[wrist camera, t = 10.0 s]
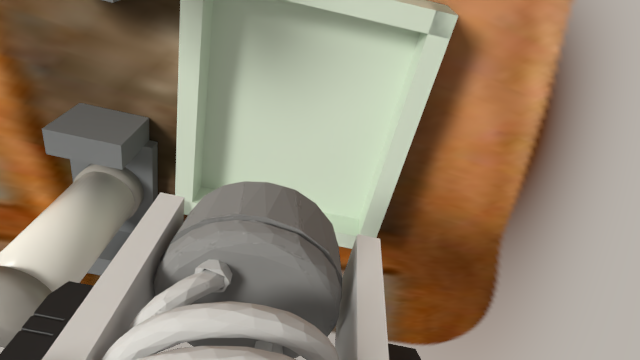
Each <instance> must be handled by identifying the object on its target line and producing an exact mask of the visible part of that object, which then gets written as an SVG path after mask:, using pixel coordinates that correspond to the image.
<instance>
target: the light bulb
mask: <svg viewBox="0 0 640 360" xmlns="http://www.w3.org/2000/svg"><path fill="white" fill-rule="evenodd" d="M153 284H154V298H153V299H152V300H151V301H150V302H149V303H148V304H147V305H146V306H145V307H144V308H143V309H142V310H141V311H140V312H139V313H138V315H137V316H136V317H135V318H134V320H133V321H132V322H131V323H130V326H129V329H128V332H127V333H125V334H124V335H123V336H122V337H120V338H119V339H118V340H117V341H116V342H115V343H114V344H113V345H112V346H111V347H110V348H109V349H108V351H107V352H106V354H105V355H104V357H103V358H102V360H296V359H294V358H296V357H298V356H302V357H303V358H305V359H306V360H339V357H338V354H337V351H336V349H335V347H334V346H333V345H332V343H331V342H330V340H329V339H328V335H329V334H330V332H331V331H332V330H333V328H334V327H335V326H336V323H337V320H338V317H339V313H340V302H341V299H342V273H341V264H340V256H339V247H338V243H337V239H336V235H335V232H334V228H333V225H332V223H331V222H330V220H329V219H328V218H327V217H326V216H325V214H324V213H323V212H322V211H321V209H320V208H319V207H318V206H317V204H316V203H314V202H313V201H312V200H310V199H309V198H307V197H306V196H304V195H303V194H301V193H300V192H298V191H297V190H294V189H291V188H288V187H285V186H281V185H277V184H273V183H269V182H249V181H243V182H238V183H233V184H228V185H223V186H221V187H220V188H218V189H216V190H214V191H212V192H210V193H208V194H207V195H205V196H204V197H203V198H202V199H201V200H200V201H199V203H198V204H197V205H196V206H195V207H194V208H193V209H192V210H191V212H190V213H189V215H188V216H187V218H186V220H185V221H184V223H183V224H182V226H181V227H180V229H179V230H178V232H177V233H176V235H175V236H174V238H173V239H172V241H171V242H170V244H169V245H168V247H167V248H166V250H165V251H164V253H163V254H162V256H161V258H160V264H159V266H158V269H157V272H156V275H155V279H154V282H153ZM184 342H188V343H189V344H191V345H192V346H194V347H185V348H177V349H173V350H170V351H166V352H162V353H158V352H160V351H163V350H165V349H168V348H170V347H173V346H175V345H178V344H180V343H184ZM157 353H158V354H157Z"/></svg>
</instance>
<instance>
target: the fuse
mask: <svg viewBox="0 0 640 360" xmlns="http://www.w3.org/2000/svg"><path fill="white" fill-rule="evenodd" d="M143 199H144V190H143V187H142V184H141V182H140V181H139V179H138V178H137V177H136V176H135V174H133V173H132V172H131V171H130V170H129V169H127V168H126V167H125V168H124V169H123V170H120V169H115V168H111V167H106V166H101V165H96V164H92V163H91V164H89V165H88V166H87V167H86V168H85V169H84V170H82V171H81V172H80V173H79V174H78V175H77V176H76V178H75V179H74V181H73V184H72V185H71V186H70V187H68V188H67V189H66V190H65V191H64V192H63V193H62V194H61V195H60V196H59V197H58V198H57V199H56V200H55V201H54V202H53V203H52V204H51V205H50V206H49V207H48V208H46V209H45V210H44V211H43V212H42V213H41V214H40V215H39V216H38V217H37V218H36V219H35V220H34V221H33V222H32V223H31V224H30V225H29V226H28V227H27V228H25V229H24V230H23V231H22V232H21V233H20V234H19V235H18V236H17V237H16V238H15V239H14V240H13V241H12V242H11V243H10V244H9V245H8V246H7V247H6V248H5V249H3V250H2V251H1V252H0V347H4V348H5V347H6V346H7V345H8V344H9V342H10V341H11V340H12V339H13V338H14V336H15V335H16V334H17V333H18V331H21V329H22V326H23V325H24V324H25V323H26V322H27V320H28V319H29V318H30V317H31V316H33V315H34V312H35V310H36V309H37V308H38V307H39V306H40V304H41V303H42V302H43V301H44V299H45V298H46V297H47V296H48V295H49V294H50V293H52V292H53V291H55V290H56V289H58V288H59V287H61V286H62V285H64V284H65V283H67V282H68V281H71V282H76V283H80V281H81V280H82V279H83V277H84V276H85V275H86V273H87V272H88V271H89V269H90V268H91V267H92V265H93V264H94V263H95V261H96V260H97V259H98V257H99V256H100V255H101V253H102V252H103V251H104V249H105V248H106V247H107V245H108V244H109V243H110V241H111V240H112V239H113V237H114V236H115V235H116V233H117V232H118V231H119V229H120V228H121V226H122V225H123V224H124V222H125V221H126V220H127V219H129V218H131V217H132V216H133V215H134V213H135V212H136V211H137V209H138V208H139V206H140V205H141V204H142V202H143Z"/></svg>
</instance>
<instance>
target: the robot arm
mask: <svg viewBox="0 0 640 360" xmlns="http://www.w3.org/2000/svg"><path fill="white" fill-rule="evenodd" d="M183 221H184V197H180V196H176V195H171V194H166V193H161V192H160V194H159V195H158V196H157V198H156V199H155V201H154V202H153V203H152V205H151V206H150V208H149V209H148V211H147V212H146V213H145V215H144V216H143V218H142V219H141V220H140V222H139V223H138V225H137V226H136V227H135V229H134V230H133V232H132V233H131V235H130V236H129V237H128V239H127V240H126V242H125V243H124V244H123V246H122V247H121V249H120V250H119V251H118V253H117V254H116V256H115V257H114V258H113V260H112V261H111V263H110V264H109V266H108V267H107V268H106V270H105V271H104V273H103V274H102V275H101V277H100V278H99V280H98V281H97V282H96V284H95V285H94V286H91V285H86V284H81V283H76V282H71V281H68V282H67V283H65V284H64V285H62V286H61V287H59V288H58V289H56V290H55V291H53V292H52V293H50V294H49V295H48V296H47V297H46V298H45V299H44V301H43V302H42V303H41V304H40V306H39V307H38V308H37V309H36V310H35V312H34V315H33V316H31V317H30V318H29V319H28V320H27V322H26V323H25V324H24V325H23V326H22V329H21V331H18V333H17V334H16V335H15V336H14V338H13V339H12V340H11V341H10V342H9V344H8V345H7V346H6V347H5V349H4V350H3V351H2V353H1V354H0V360H102V358H103V357H104V355H105V354H106V352H107V351H108V349H109V348H110V347H111V346H112V345H113V344H114V343H115V342H116V341H117V340H118V339H119V338H120V337H122V336H123V335H124V334H125V333H127V332H128V329H129V326H130V323H131V322H132V321H133V320H134V318H135V317H136V316H137V315H138V313H139V312H140V311H141V310H142V309H143V308H144V307H145V306H146V305H147V304H148V303H149V302H150V301H151V300H152V299H153V298H154V284H153V282H154V279H155V275H156V272H157V269H158V266H159V264H160V258H161V256H162V254H163V253H164V251H165V250H166V248H167V247H168V245H169V244H170V242H171V241H172V239H173V238H174V236H175V235H176V233H177V232H178V230H179V229H180V227H181V226H182V224H183ZM335 349H336V351H337V354H338V357H339V360H421V359H420V357H419V355H418V353H417V351H416V349H413V348H407V347H403V346H398V345H393V344H388V338H387V325H386V311H385V297H384V284H383V270H382V257H381V243H380V239H379V238H374V237H369V236H365V235H360V234H357V236H356V239H355V242H354V245H353V248H352V251H351V254H350V257H349V260H348V263H347V266H346V269H345V272H344V275H343V278H342V299H341V302H340V313H339V317H338V320H337V323H336V339H335Z"/></svg>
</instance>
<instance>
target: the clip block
mask: <svg viewBox="0 0 640 360" xmlns="http://www.w3.org/2000/svg"><path fill="white" fill-rule="evenodd" d="M103 1H108V2H112V3H114V2H117V1H119V0H103ZM42 132H43V138H44V144H45V150H46V154H49V155H53V156H58V157H63V158H68V159H70V162H71V170H72V177H73V181H74V179H75V178H76V176H77V175H78V174H79V173H80V172H81V171H82V170H84V169H85V168H86V167H87V166H88V165H89V164H91V163H92V164H96V165H101V166H106V167H111V168H115V169H120V170H123V169H124V168H125V167H126V168H127V169H129V170H130V171H131V172H132V173H133V174H135V176H136V177H137V178H138V179H139V181H140V182H141V184H142V187H143V190H144V199H143V202H142V204H141V205H140V206H139V208H138V209H137V211H136V212H135V213H134V215H133V216H132V217H131V218H129V219H127V220H126V221H125V222H124V224H123V225H122V226H121V228H120V229H119V231H118V232H117V233H116V235H115V236H114V237H113V239H112V240H111V241H110V243H109V244H108V245H107V247H106V248H105V249H104V251H103V252H102V253H101V255H100V256H99V257H98V259H97V260H96V261H95V263H94V264H93V265H92V267H91V268H90V269H89V271H88V272H87V273H91V274H96V275H102V274H103V273H104V271H105V270H106V268H107V267H108V266H109V264H110V263H111V261H112V260H113V258H114V257H115V256H116V254H117V253H118V251H119V250H120V249H121V247H122V246H123V244H124V243H125V242H126V240H127V239H128V237H129V236H130V235H131V233H132V232H133V230H134V229H135V227H136V226H137V225H138V223H139V222H140V220H141V219H142V218H143V216H144V215H145V213H146V212H147V211H148V209H149V208H150V206H151V205H152V203H153V202H154V201H155V199H156V198H157V196H158V142H155V141H150V140H149V118H147V117H143V116H138V115H134V114H129V113H124V112H120V111H115V110H111V109H106V108H101V107H97V106H92V105H88V104H83V103H79V104H78V105H76V106H75V107H73V108H72V109H70V110H69V111H67V112H66V113H64V114H63V115H61V116H60V117H59V118H57V119H56V120H54V121H53V122H51V123H50V124H48V125H47V126H45V127H44V128H42Z"/></svg>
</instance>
